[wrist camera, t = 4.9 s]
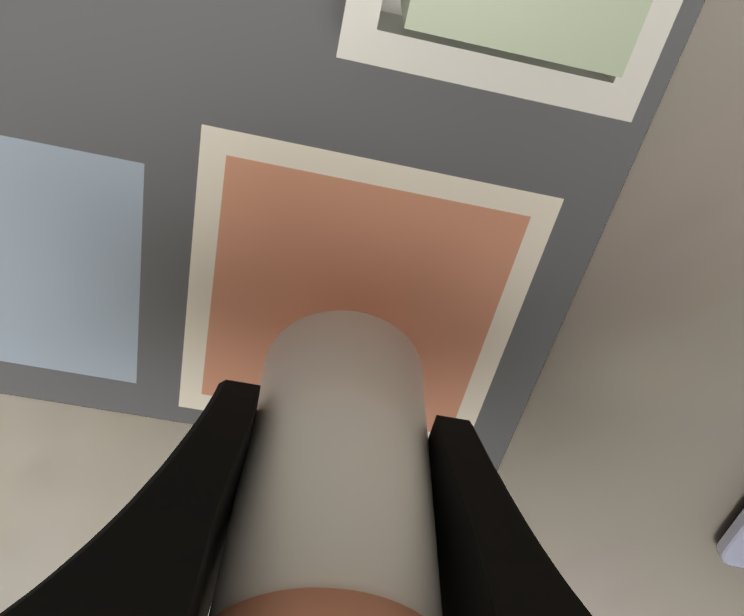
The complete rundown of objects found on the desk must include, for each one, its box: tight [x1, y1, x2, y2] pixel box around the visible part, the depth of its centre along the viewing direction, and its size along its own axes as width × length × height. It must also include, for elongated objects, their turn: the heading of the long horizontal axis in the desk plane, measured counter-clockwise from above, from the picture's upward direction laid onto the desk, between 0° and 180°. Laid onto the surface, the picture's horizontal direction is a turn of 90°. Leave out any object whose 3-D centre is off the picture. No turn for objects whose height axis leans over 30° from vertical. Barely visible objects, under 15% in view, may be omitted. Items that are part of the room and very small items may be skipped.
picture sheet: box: [0, 0, 705, 470], centre depth 13 cm, size 15×15×1 cm
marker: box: [209, 310, 443, 616], centre depth 11 cm, size 3×3×8 cm
